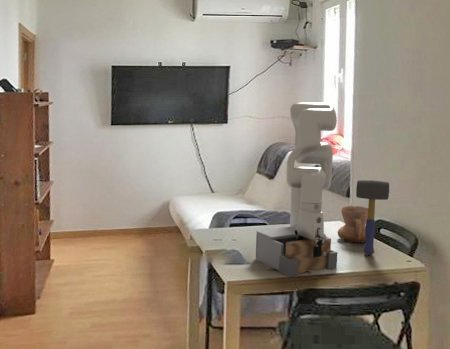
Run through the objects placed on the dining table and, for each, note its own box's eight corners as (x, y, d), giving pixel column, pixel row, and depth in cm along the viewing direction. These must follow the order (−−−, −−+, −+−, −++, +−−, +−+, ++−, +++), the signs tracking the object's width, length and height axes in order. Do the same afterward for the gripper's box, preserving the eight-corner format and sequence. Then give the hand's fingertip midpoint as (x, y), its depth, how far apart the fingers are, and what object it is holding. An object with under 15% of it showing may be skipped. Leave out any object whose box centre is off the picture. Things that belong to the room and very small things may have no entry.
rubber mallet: (384, 254, 226) (389, 180, 221) (384, 259, 219) (390, 183, 214) (352, 251, 229) (357, 178, 224) (352, 256, 222) (356, 180, 217)
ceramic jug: (335, 234, 255) (337, 203, 252) (368, 235, 253) (370, 204, 251) (339, 246, 237) (340, 213, 235) (374, 247, 236) (376, 214, 233)
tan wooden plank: (324, 265, 209) (325, 236, 208) (331, 268, 206) (333, 239, 204) (284, 272, 201) (285, 242, 199) (291, 276, 197) (293, 245, 195)
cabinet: (299, 252, 225) (300, 225, 224) (336, 268, 206) (338, 238, 205) (253, 259, 215) (254, 231, 213) (288, 276, 196) (289, 246, 194)
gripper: (335, 210, 195) (332, 258, 197) (304, 201, 209) (302, 245, 212) (317, 212, 191) (315, 261, 194) (287, 202, 206) (285, 248, 208)
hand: (308, 253), depth 203 cm, fingers open, 9 cm apart
